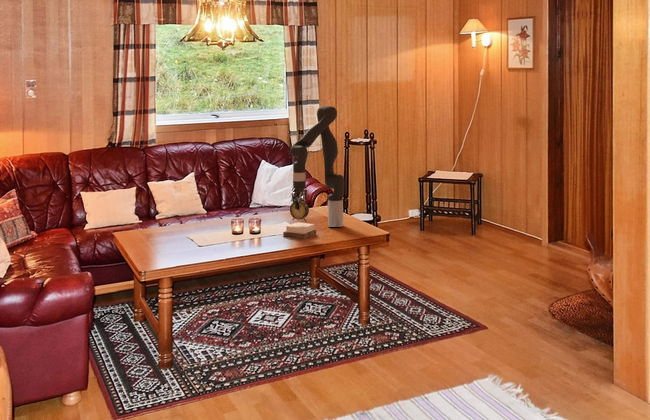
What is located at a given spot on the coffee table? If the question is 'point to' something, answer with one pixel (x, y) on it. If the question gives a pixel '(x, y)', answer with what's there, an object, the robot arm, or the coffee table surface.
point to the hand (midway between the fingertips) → (299, 208)
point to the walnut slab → (298, 235)
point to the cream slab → (300, 228)
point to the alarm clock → (299, 210)
